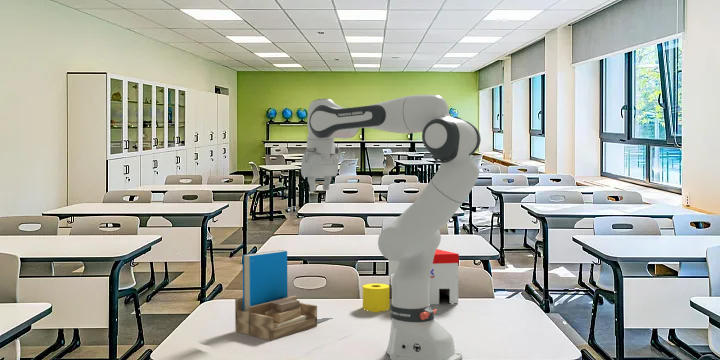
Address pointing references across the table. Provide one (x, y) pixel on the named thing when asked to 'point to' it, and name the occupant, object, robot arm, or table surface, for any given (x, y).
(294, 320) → the offcut large
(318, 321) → the mat
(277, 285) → the book
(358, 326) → the table surface
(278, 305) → the offcut small
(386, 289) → the tape roll
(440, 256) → the red-lidded white box
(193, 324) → the table surface
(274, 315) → the offcut medium
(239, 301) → the rack
